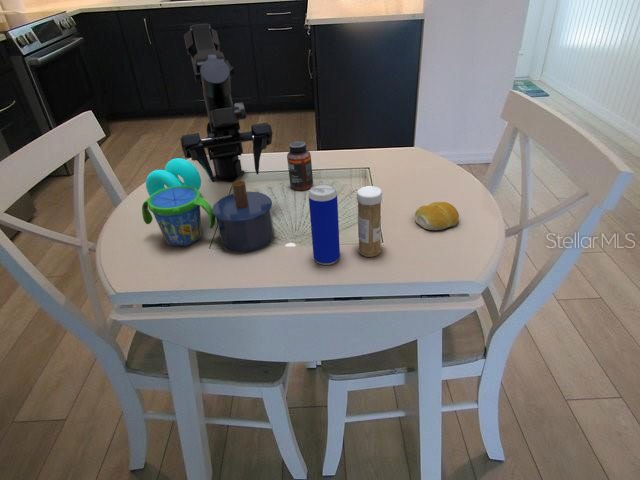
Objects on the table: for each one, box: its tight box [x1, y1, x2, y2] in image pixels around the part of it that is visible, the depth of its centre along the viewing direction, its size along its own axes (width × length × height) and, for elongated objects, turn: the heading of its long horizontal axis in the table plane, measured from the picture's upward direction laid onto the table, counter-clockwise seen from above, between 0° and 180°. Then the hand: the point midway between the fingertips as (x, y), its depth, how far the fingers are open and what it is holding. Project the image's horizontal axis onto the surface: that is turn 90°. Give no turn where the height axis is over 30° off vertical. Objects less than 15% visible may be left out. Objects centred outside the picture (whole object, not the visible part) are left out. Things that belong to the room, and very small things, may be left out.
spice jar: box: [356, 185, 383, 258], centre depth 87 cm, size 5×5×14 cm
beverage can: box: [308, 183, 341, 266], centre depth 86 cm, size 5×5×15 cm
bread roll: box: [414, 201, 460, 231], centre depth 98 cm, size 8×9×4 cm
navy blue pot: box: [215, 208, 275, 254], centre depth 96 cm, size 11×11×7 cm
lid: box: [211, 180, 273, 223], centre depth 93 cm, size 12×12×6 cm
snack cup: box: [141, 186, 216, 247], centre depth 97 cm, size 16×10×10 cm
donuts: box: [145, 157, 202, 197], centre depth 112 cm, size 10×10×10 cm
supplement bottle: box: [286, 140, 314, 191], centre depth 114 cm, size 6×6×11 cm
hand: (235, 177), depth 95 cm, fingers open, 9 cm apart
